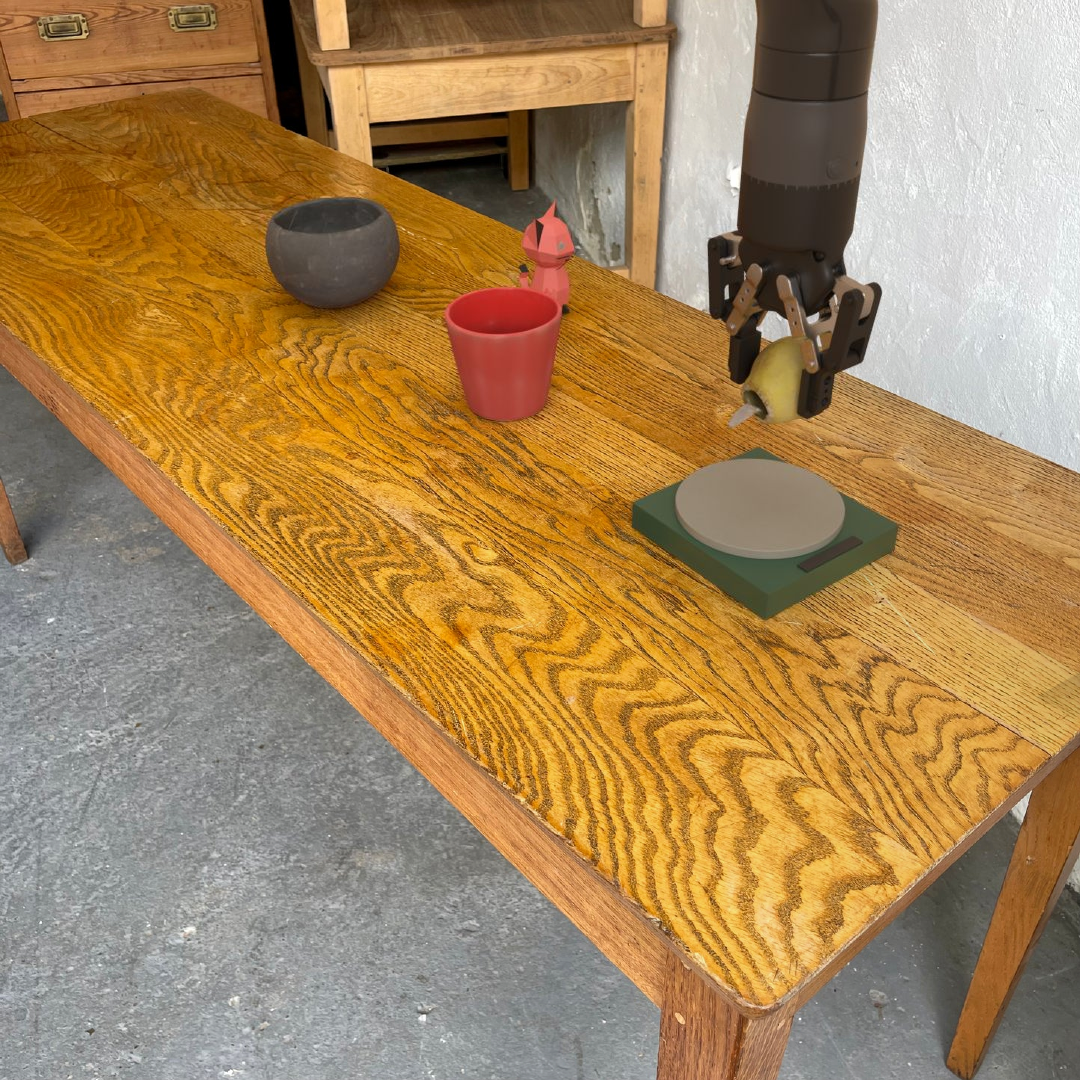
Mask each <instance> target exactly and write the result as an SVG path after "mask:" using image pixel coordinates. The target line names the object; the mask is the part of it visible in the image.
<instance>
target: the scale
mask: <svg viewBox="0 0 1080 1080" xmlns="http://www.w3.org/2000/svg"><path fill="white" fill-rule="evenodd" d="M631 504H632V505H631V527H632V528H633V529H635V530H636V531H638V532H639V533H640V534H641V535H643V536H645V537H646V538H647V539H649V540H650V541H652V542H653V543H654V544H656V545H657V546H659V547H660V548H661V549H663V550H664V551H666V552H667V553H669V554H670V555H672V556H673V557H674V558H676V559H677V560H678V561H680V562H681V563H683V565H686V566H687V567H688V568H690V569H691V570H693V571H694V572H696V573H697V574H698V575H700V576H701V577H703V578H704V579H706V580H707V581H709V582H710V583H711V584H713V585H714V586H716V587H717V588H718V589H719V590H721V591H723V592H724V593H726V594H727V595H728V596H729V597H731V598H732V599H734V600H735V601H737V602H738V603H739V604H741V605H742V606H744V607H745V608H746V609H748V610H749V611H751V612H752V613H754V614H755V615H756V616H758V617H760V619H762V620H764V621H767V620H769V619H770V618H773V617H775V616H776V615H778V614H780V613H782V612H783V611H785V610H787V609H789V608H791V607H793V606H794V605H796V604H798V603H800V602H801V601H804V600H806V599H807V598H810V597H811V596H813V595H814V594H817V593H818V592H820V591H822V590H824V589H825V588H828V587H829V586H831V585H833V584H835V583H836V582H839V581H840V580H842V579H844V578H847V577H848V576H850V575H851V574H853V573H855V572H857V571H859V570H861V569H862V568H864V567H866V566H868V565H870V564H871V563H873V562H875V561H877V560H879V559H880V558H883V557H884V556H886V555H889V554H890V553H892V552H893V551H894V552H895V549H896V543H897V539H898V533H899V529H900V524H898V523H896V522H895V521H893V520H891V519H890V518H888V517H886V516H884V515H882V514H881V513H879V512H877V511H875V510H873V509H871V508H870V507H868V506H866V505H864V504H863V503H862V502H859V501H857V500H855V499H854V498H852V497H850V496H848V495H847V494H845V493H843V492H841V491H839V490H837V489H836V487H835V486H833V485H832V484H831V483H830V482H829V481H827V480H826V479H825V478H824V477H821V476H820V475H819V474H817V473H815V472H813V471H811V470H809V469H807V468H804V467H801V466H798V465H795V464H792V463H790V462H788V461H786V460H784V459H782V458H781V457H779V456H777V455H775V454H774V453H772V452H770V451H769V450H766V449H765V448H763V447H761V446H756V447H754V448H751V449H749V450H747V451H744V452H743V453H741V454H738V455H736V456H733V457H731V458H728V459H726V460H723V461H717V462H715V463H714V462H713V463H711V464H707V465H706V466H702V467H701V468H699V469H697V470H695V471H693V472H692V473H690V474H689V475H688V476H686V477H685V478H684V479H683V478H682V480H679V481H677V482H675V483H672V484H670V485H668V486H665V487H663V488H661V489H659V490H656V491H654V492H651V493H650V494H647V495H645V496H643V497H640V498H638V499H636V500H634V501H632V502H631Z"/></svg>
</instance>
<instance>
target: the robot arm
mask: <svg viewBox="0 0 1080 1080" xmlns="http://www.w3.org/2000/svg"><path fill="white" fill-rule="evenodd" d="M754 3H755V12H756V28H755V32H756V33H755V42H754V55H753V65H752V66H753V67H752V77H751V78H752V81H751V89H750V97H749V102H748V107H747V111H746V116H745V121H744V129H743V141H742V142H743V143H742V155H741V166H740V178H739V193H738V203H737V204H738V206H737V218H736V229H735V230H732V231H728V232H725V233H721V234H717V236H713V237H710V238H709V239H708V241H707V244H706V245H707V246H706V247H707V279H708V280H707V281H708V312H709V315H710V317H711V318H712V319H713V320H714V321H718V320H721V321H722V322H723V323H724V324H725V330H726V332H727V334H728V335H729V346H728V347H729V348H728V359H727V367H728V372H729V380H730V381H731V382H733V383H734V384H736V385H738V386H740V385H744V383H745V381H746V379H747V378H748V377H749V375H750V372H751V369H752V366H753V363H754V361H755V359H756V358H757V356H758V355H759V354H760V352H761V346H762V335H763V334H762V333H763V332H762V331H761V330H758V329H757V328H759V327H760V326H761V325H762V323H763V321H764V319H765V318H766V316H767V314H768V312H773V313H776V314H777V315H779V316H780V317H781V318H783V319H784V320H787V322H788V327H789V331H790V336H792V338H793V339H794V340H795V341H798V342H799V345H800V349H801V353H802V357H803V362H804V366H805V369H803V370H802V375H801V383H800V391H799V400H798V408H797V414H798V415H799V416H801V417H803V418H802V419H805V420H810V419H811V418H814V417H816V416H818V415H820V414H821V415H822V414H823V412H824V411H825V410H827V409H829V407H830V405H832V398H833V396H832V395H833V390H834V385H835V377H836V374H839V373H841V372H843V371H846V370H848V369H851V368H853V367H856V366H858V365H860V364H862V363H863V362H864V359H865V356H866V353H867V349H868V346H869V342H870V340H871V335H872V332H873V328H874V324H875V321H876V318H877V314H878V310H879V306H880V303H881V300H882V297H883V289H882V286H881V284H879V283H878V282H876V281H872V282H869V283H867V284H862V283H861V282H859V281H857V280H855V279H854V278H851V277H850V276H848V275H847V274H848V273H847V268H846V263H845V258H844V254H845V249H846V248H847V245H848V242H849V241H850V239H851V237H852V235H853V232H854V226H855V221H856V219H855V218H856V212H857V205H858V200H859V199H858V198H859V191H860V183H861V177H862V171H863V170H862V169H863V162H864V155H865V149H866V141H867V134H868V121H869V120H868V116H869V115H868V113H869V112H868V107H869V106H868V102H869V88H870V83H871V76H872V69H873V62H874V53H875V46H876V40H877V39H876V38H877V30H878V19H879V0H754ZM726 287H728V289H727V290H728V297H727V298H726ZM835 297H836V298H835ZM816 314H818V318H817V320H816V321H814V322H812V323H809V322H808V318H809V317H812V316H815V315H816ZM818 337H819V340H820V344H821V346H822V350H823V351H820V352H819V347H818V346H819V343H818Z"/></svg>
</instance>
